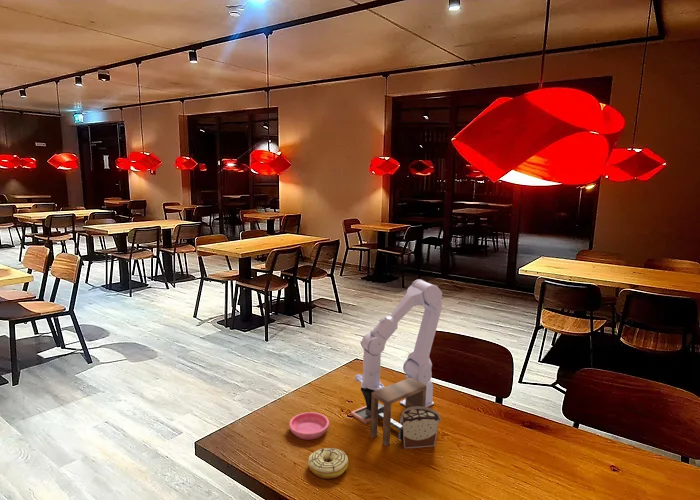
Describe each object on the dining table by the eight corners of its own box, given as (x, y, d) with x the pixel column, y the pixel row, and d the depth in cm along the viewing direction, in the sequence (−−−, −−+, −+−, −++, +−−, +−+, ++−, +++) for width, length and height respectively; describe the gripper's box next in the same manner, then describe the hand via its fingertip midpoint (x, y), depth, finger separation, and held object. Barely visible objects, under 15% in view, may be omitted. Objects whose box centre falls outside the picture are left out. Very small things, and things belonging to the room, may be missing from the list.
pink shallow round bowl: (295, 446, 130) (296, 437, 129) (284, 425, 141) (284, 416, 141) (335, 437, 135) (335, 428, 134) (320, 417, 146) (321, 408, 146)
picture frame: (374, 404, 155) (374, 402, 155) (389, 413, 149) (389, 411, 149) (350, 414, 148) (350, 411, 148) (365, 424, 142) (365, 421, 142)
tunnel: (408, 417, 147) (410, 377, 145) (424, 427, 142) (426, 385, 139) (370, 435, 136) (371, 392, 134) (385, 446, 131) (387, 401, 129)
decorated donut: (320, 452, 127) (320, 440, 127) (353, 463, 123) (354, 451, 122) (301, 473, 118) (301, 460, 118) (336, 486, 114) (337, 472, 113)
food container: (432, 434, 138) (434, 404, 136) (439, 445, 132) (441, 414, 130) (394, 436, 136) (395, 406, 134) (399, 448, 130) (400, 417, 128)
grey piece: (380, 408, 150) (381, 398, 150) (418, 431, 137) (418, 420, 137) (363, 416, 145) (363, 406, 145) (400, 440, 132) (400, 429, 132)
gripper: (348, 365, 149) (347, 402, 151) (377, 381, 138) (376, 421, 140) (364, 360, 154) (363, 396, 156) (393, 375, 143) (392, 414, 145)
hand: (370, 408), depth 148 cm, fingers closed
